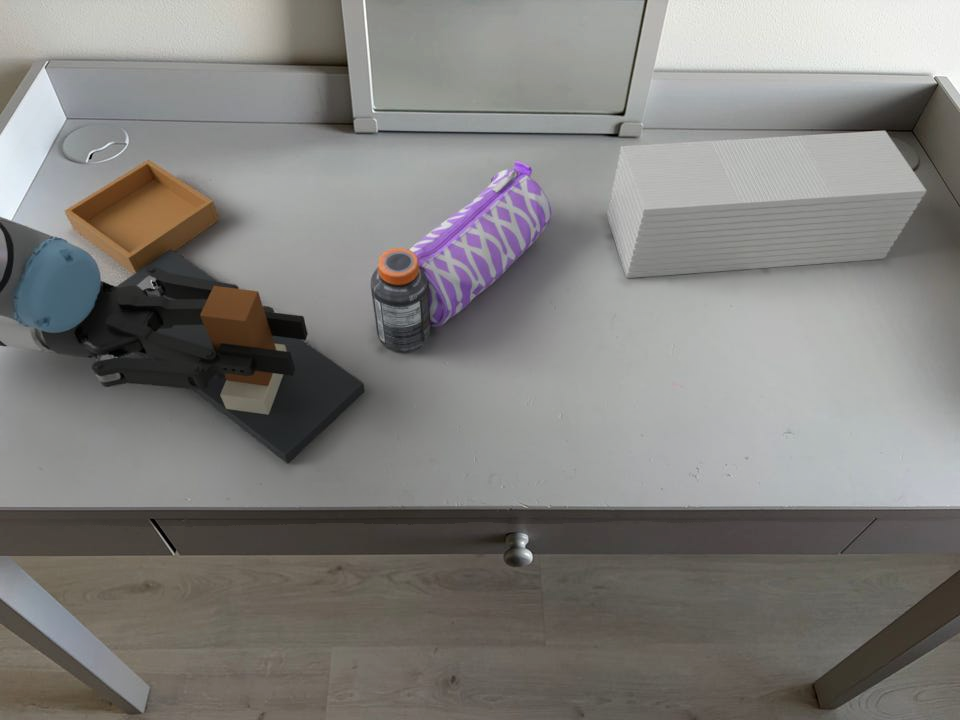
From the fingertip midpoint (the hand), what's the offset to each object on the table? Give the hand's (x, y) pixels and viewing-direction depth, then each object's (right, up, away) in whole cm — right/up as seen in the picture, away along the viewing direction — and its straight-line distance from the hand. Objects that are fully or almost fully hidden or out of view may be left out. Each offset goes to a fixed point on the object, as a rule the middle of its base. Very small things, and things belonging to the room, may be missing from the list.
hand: (297, 345), depth 73 cm
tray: (-24, +15, +22) cm, 36 cm away
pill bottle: (+9, +1, +13) cm, 16 cm away
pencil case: (+16, +9, +18) cm, 26 cm away
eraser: (-5, -4, +6) cm, 9 cm away
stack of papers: (+50, +14, +23) cm, 56 cm away
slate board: (-10, 0, +11) cm, 15 cm away
